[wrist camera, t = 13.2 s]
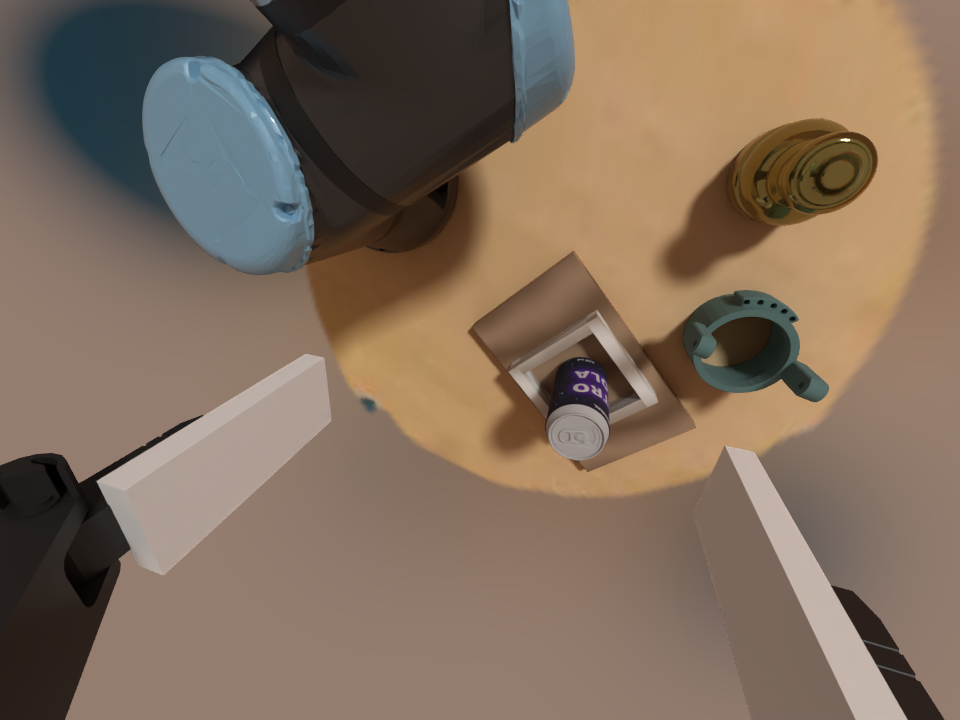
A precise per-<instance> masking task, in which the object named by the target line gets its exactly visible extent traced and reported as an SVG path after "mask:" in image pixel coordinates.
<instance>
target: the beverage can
mask: <svg viewBox="0 0 960 720" xmlns="http://www.w3.org/2000/svg"><path fill="white" fill-rule="evenodd" d="M545 429H546V434H547V436H548V439H549V442H550V444H551V446H552V447H553V449H554V450H555V451H556V452H557V453H559V454H560V455H562V456H563V457H566V458H568V459H572V460H587V459H590V458H593V457H595V456H596V455H598V454H599V453H600V452H601V451H602V449H603V447H604V445H605V444H606V442H607V441H608V438H609V435H610V422H609V403H608V384H607V375H606V372H605V370H604V368H603V367H602V366H601V365H600V364H599V363H598V362H596V361H595V360H593V359H590V358H586V357H575V358H571V359H568V360H566V361H565V362H563V363H562V364H561V365H560V366H559V368H558V370H557V372H556V375H555V380H554V385H553V390H552V395H551V399H550V404H549V409H548V414H547V419H546V424H545Z"/></svg>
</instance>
